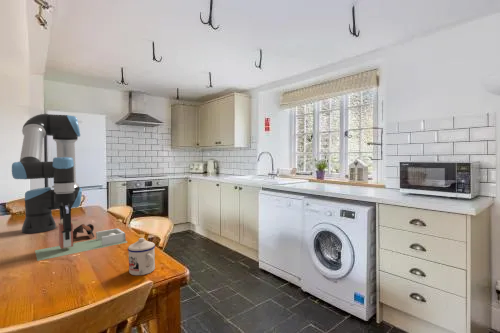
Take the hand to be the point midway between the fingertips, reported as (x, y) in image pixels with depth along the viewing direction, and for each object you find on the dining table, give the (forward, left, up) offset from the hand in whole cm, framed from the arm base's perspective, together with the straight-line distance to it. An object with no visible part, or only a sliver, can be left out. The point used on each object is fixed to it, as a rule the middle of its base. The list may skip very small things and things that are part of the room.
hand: (66, 245), depth 120 cm
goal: (0, +18, -2) cm, 18 cm away
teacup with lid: (+46, +17, -2) cm, 49 cm away
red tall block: (0, 0, 0) cm, 0 cm away
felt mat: (0, +6, -2) cm, 7 cm away
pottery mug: (-15, +9, -2) cm, 18 cm away
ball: (+2, +18, 0) cm, 18 cm away
